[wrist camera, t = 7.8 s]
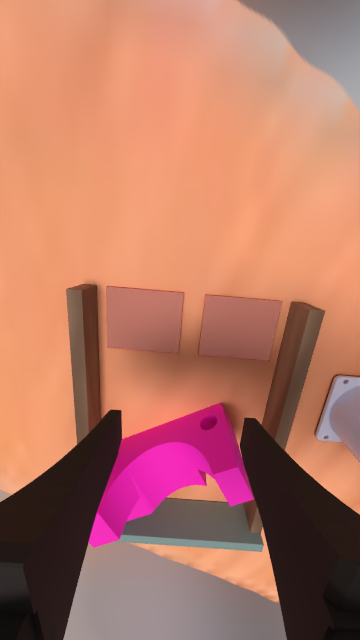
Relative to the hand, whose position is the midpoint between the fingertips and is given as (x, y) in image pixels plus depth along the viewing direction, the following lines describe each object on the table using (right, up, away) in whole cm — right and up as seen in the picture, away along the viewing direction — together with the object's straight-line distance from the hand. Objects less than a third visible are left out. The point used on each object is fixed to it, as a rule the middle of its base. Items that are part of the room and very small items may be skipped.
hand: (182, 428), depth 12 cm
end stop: (-1, -17, +15) cm, 23 cm away
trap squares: (+1, +6, +8) cm, 10 cm away
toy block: (-1, -8, +13) cm, 15 cm away
